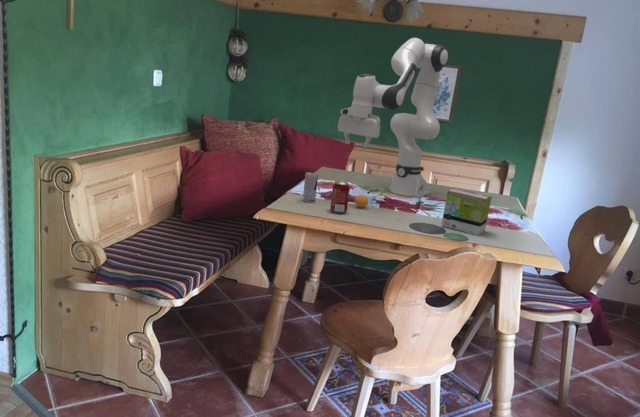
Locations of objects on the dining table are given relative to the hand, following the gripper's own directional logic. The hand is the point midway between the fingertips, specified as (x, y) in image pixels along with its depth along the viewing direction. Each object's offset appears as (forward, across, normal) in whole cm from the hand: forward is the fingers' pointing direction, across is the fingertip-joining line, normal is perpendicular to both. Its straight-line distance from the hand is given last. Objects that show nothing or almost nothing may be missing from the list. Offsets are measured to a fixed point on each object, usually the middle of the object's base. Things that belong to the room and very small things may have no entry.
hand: (356, 145), depth 223 cm
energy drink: (+26, +9, +16) cm, 31 cm away
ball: (+22, -9, +3) cm, 24 cm away
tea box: (+25, -50, -10) cm, 57 cm away
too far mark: (+25, -54, +4) cm, 60 cm away
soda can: (+26, -9, +18) cm, 33 cm away
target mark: (+25, -42, +4) cm, 49 cm away
